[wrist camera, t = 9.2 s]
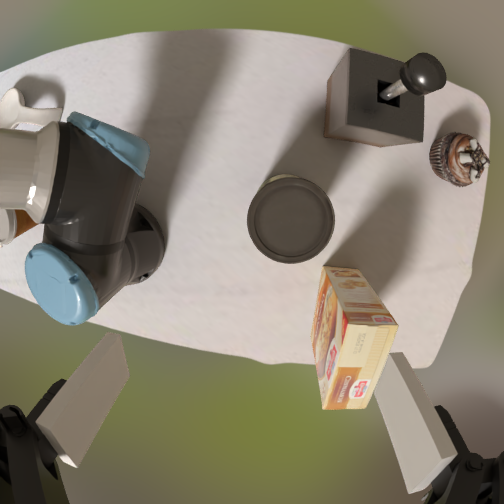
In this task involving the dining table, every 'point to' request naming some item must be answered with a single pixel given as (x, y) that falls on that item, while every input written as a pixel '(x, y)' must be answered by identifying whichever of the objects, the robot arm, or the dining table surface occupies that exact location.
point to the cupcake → (458, 159)
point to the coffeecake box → (349, 338)
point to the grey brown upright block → (371, 103)
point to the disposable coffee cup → (14, 224)
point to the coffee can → (290, 219)
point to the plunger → (416, 78)
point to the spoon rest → (24, 111)
